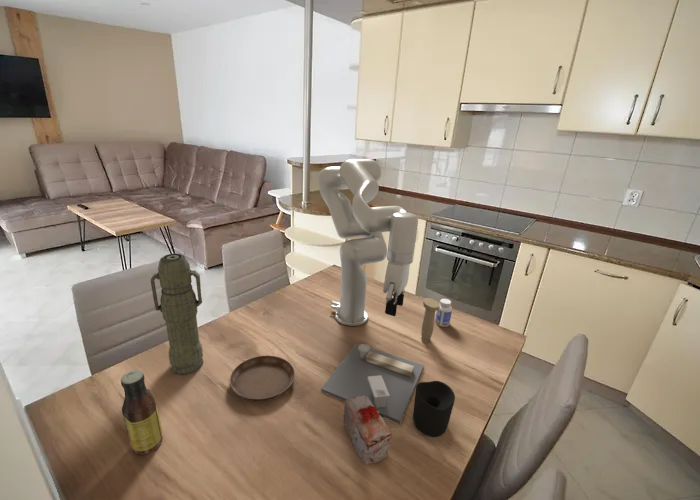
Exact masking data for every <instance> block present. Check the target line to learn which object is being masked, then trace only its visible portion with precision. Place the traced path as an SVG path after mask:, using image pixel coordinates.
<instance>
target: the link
mask: <svg viewBox="0 0 700 500" xmlns="http://www.w3.org/2000/svg"><path fill="white" fill-rule="evenodd" d="M366 361H367V362H370V363H372V364H375V365H378V366H381V367H384V368H387V369H389V370H392V371H395V372H398V373H401V374H404V375H406V376H409V377H411V376H412V374H413V372H414V366H412V365H409V364H407V363H404V362H401V361H398V360H395V359H392V358H389V357H386V356H383V355H380V354H377V353H374V352H371V351H369V353H368V354H367V356H366Z"/></svg>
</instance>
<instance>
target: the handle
mask: <svg viewBox="0 0 700 500" xmlns="http://www.w3.org/2000/svg"><path fill="white" fill-rule="evenodd" d="M422 304H423V307H424V308H425V310H424V314H423V319H422V325H421V333H420V334H421V341H422V342H424V343H427V342H428V343H429V342H431V338H432V336H433V332H434V325H435V318H436V312H437V310H439V309H440V302H438V301H437V300H436V299H434V298H431V297H426V298H423V299H422Z"/></svg>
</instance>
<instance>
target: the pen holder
mask: <svg viewBox="0 0 700 500" xmlns="http://www.w3.org/2000/svg"><path fill="white" fill-rule="evenodd" d="M414 393H415V394H414V401H413V413H412V423H413V425H414V427H415V428H416V429H417V431H418V432H419V433H421V434H422V435H425V436H427V437H430V438H437V437H441V436H443V435H444V434H445V433H446V432H447V429H448V425H449V423H450V419H451V415H452V412H453V408H454V404H455V400H456V395H455V392H454V390H453V389H452V388H451V387H450V386H449V385H448V384H447V383H445V382H442V381H439V380H433V381H421V382H417V384H416V387H415V390H414Z"/></svg>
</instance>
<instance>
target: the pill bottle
mask: <svg viewBox="0 0 700 500" xmlns="http://www.w3.org/2000/svg"><path fill="white" fill-rule="evenodd" d="M439 304H440V309H439V310H437V311H436V312H435V318H434V324H436V325H437V326H439V327H441V328H445V327H449V326H450V324H451V318H452V312H453V307H452V301H451V300H450V299H448V298H441V299H440V300H439Z"/></svg>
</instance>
